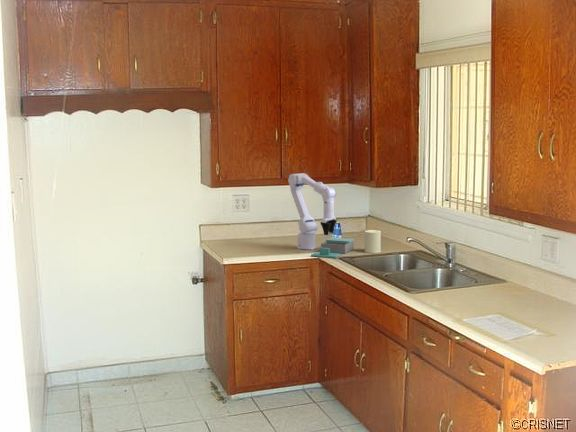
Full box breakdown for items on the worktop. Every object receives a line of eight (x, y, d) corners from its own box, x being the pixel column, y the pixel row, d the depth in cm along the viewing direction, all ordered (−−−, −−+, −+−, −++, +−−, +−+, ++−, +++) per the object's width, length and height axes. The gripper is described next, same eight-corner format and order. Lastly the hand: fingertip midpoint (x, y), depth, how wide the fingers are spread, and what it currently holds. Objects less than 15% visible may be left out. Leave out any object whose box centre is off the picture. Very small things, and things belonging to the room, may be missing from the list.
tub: (321, 252, 388) (321, 242, 387) (330, 247, 403) (330, 237, 402) (345, 254, 383) (345, 243, 382) (353, 249, 397) (353, 239, 396)
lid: (311, 257, 376) (311, 248, 376) (316, 254, 384) (316, 245, 383) (335, 259, 371) (335, 249, 370) (340, 256, 378) (340, 247, 378)
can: (379, 253, 384) (379, 232, 382) (362, 252, 387) (362, 231, 385) (382, 250, 393) (382, 229, 391) (366, 249, 396) (366, 228, 394)
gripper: (330, 211, 378) (330, 236, 380) (339, 208, 391) (339, 232, 393) (318, 211, 380) (318, 235, 382) (328, 207, 394) (328, 231, 396)
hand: (328, 233), depth 388 cm, fingers open, 7 cm apart
